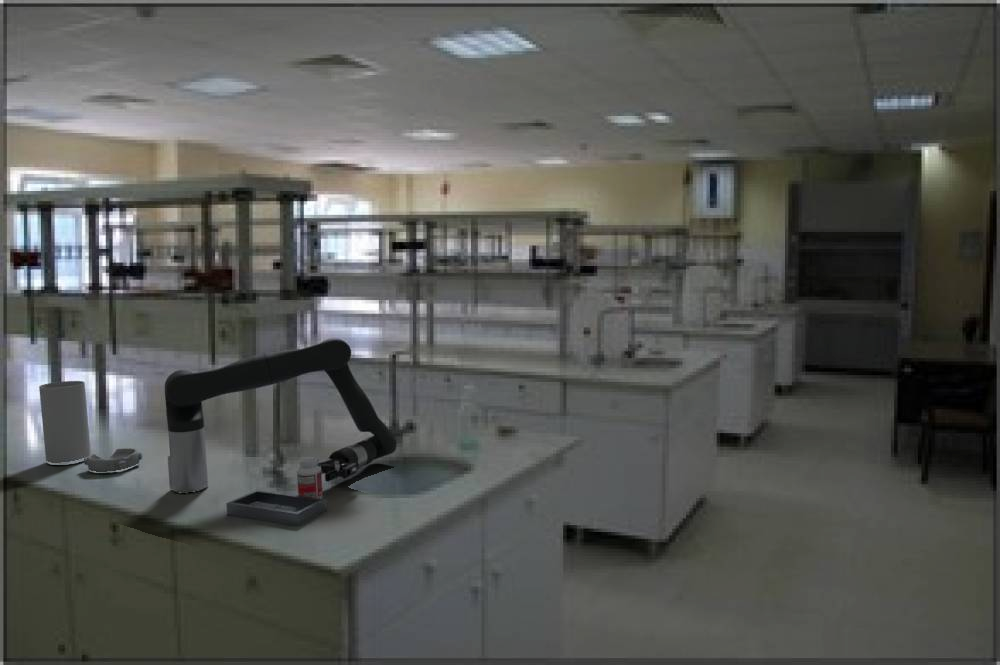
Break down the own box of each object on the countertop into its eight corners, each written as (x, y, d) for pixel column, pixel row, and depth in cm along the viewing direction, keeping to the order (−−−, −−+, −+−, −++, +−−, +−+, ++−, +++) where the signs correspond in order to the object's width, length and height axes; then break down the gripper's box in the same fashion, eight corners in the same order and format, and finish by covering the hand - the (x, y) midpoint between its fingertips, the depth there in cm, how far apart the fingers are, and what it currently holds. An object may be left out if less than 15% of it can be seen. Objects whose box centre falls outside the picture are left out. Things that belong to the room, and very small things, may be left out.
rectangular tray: (227, 514, 187) (226, 503, 186) (257, 500, 197) (256, 489, 196) (298, 526, 178) (297, 513, 178) (326, 510, 188) (325, 499, 188)
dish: (78, 473, 226) (76, 457, 225) (116, 461, 238) (115, 445, 238) (113, 478, 220) (112, 461, 220) (151, 465, 233) (149, 449, 233)
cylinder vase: (79, 453, 248) (73, 379, 245) (98, 459, 240) (92, 383, 238) (39, 463, 237) (31, 385, 235) (57, 469, 230) (50, 389, 227)
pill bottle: (314, 494, 201) (312, 454, 200) (327, 499, 197) (325, 458, 195) (293, 500, 196) (291, 459, 195) (306, 505, 192) (304, 464, 191)
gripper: (327, 445, 215) (290, 459, 200) (369, 449, 209) (334, 465, 194) (328, 470, 215) (291, 487, 201) (370, 475, 210) (335, 492, 195)
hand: (313, 476), depth 197 cm, fingers open, 8 cm apart
